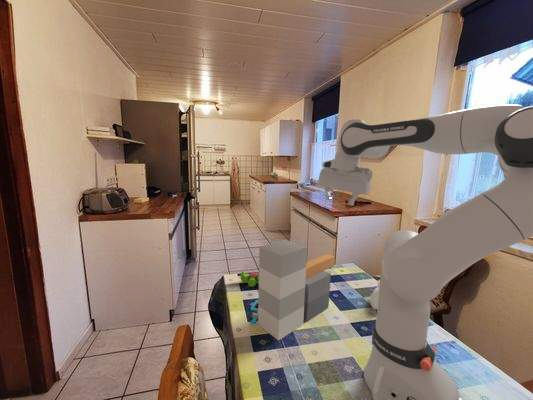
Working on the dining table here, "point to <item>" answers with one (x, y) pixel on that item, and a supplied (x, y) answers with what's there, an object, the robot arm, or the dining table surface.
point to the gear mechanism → (255, 315)
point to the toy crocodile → (250, 278)
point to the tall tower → (281, 287)
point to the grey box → (316, 295)
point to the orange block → (319, 265)
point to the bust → (375, 297)
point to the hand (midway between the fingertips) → (339, 202)
